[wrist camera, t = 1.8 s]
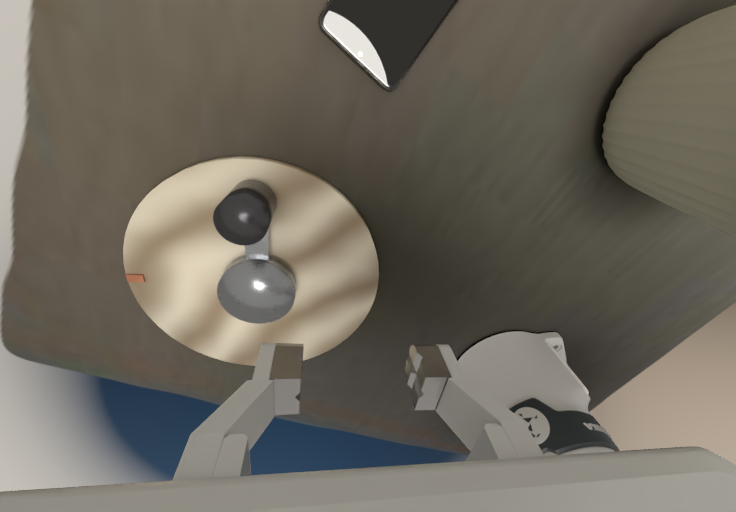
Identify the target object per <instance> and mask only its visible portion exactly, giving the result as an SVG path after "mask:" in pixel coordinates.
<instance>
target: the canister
mask: <svg viewBox="0 0 736 512" xmlns="http://www.w3.org/2000/svg"><path fill="white" fill-rule="evenodd" d="M603 127H604V131H603V134H602V138H603V144H602V147H603V149H604V156H605V158H606V160H607V163H608V165H609V167H610V168H611V169H612V170H613V172H614V173H615V174H616V175H617V176H618V177H619V178H620V179H622V180H623V181H624V182H625V183H627V184H628V185H630V186H631V187H633V188H635V189H637V190H639V191H641V192H643V193H645V194H647V195H649V196H651V197H653V198H654V199H656V200H658V201H660V202H662V203H664V204H666V205H668V206H670V207H672V208H674V209H677V210H679V211H681V212H683V213H685V214H687V215H689V216H691V217H693V218H695V219H697V220H700V221H702V222H704V223H706V224H708V225H710V226H712V227H715V228H717V229H719V230H721V231H723V232H725V233H727V234H729V235H731V236H733V237H735V238H736V5H733V6H730V7H727V8H724V9H721V10H718V11H715V12H713V13H710V14H707V15H705V16H703V17H700V18H698V19H696V20H694V21H692V22H691V23H689V24H686V25H684V26H682V27H680V28H679V29H677V30H676V31H674V32H673V33H671V34H670V35H669V36H667V37H665V38H664V39H662V40H661V41H659V42H658V43H657V44H656V45H655V46H654V48H652V49H651V50H649V51H648V52H646V53H645V54H644V56H643V57H642V59H641V60H640V61H639V62H637V63H636V64H635V65H634V66H633V68H632V70H631V71H630V73H629V74H628V75H626V76H625V77H624V80H623V82H622V84H621V85H620V87H619V88H618V89H617V90H616V94H615V96H614V98H613V99H612V101H611V102H610V107H609V109H608V111H607V113H606V120H605V123H604V124H603Z"/></svg>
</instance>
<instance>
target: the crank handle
mask: <svg viewBox="0 0 736 512" xmlns="http://www.w3.org/2000/svg"><path fill="white" fill-rule="evenodd" d="M276 208H277V198H276V195H275V193H274V192H273V190H272V189H271V188H270V187H269V186H268V185H267V184H265V183H263V182H261V181H259V180H254V179H249V180H244V181H241V182H240V183H238V184H237V185H236V186H235V187H234V188H233V189H232V190H231V191H230V192H229V193H228V195H227V196H226V197H225V198H224V199H223V200H222V201H221V202H220V203H219V204H218V205H217V207H216V208H215V210H214V214H213V222H214V225H215V228H216V230H217V231H218V233H219V234H220V235H221V236H222V237H223V238H224V239H226V240H227V241H229V242H231V243H234V244H237V245H245V255H244V256H241V257H239V258H237V259H235V260H234V261H232V262H231V263H230V264H229V265H228V267H227V268H226V270H225V271H224V273H223V275H222V277H221V279H220V281H219V283H218V286H217V296H218V299H219V302H220V304H221V305H222V307H223V308H224V309H225V310H226V311H227V312H228V313H229V314H230V315H232V316H233V317H235V318H237V319H239V320H242V321H245V322H248V323H256V324H263V323H270V322H273V321H276V320H278V319H280V318H282V317H284V316H285V315H286V314H287V313H288V312H289V311H290V310H291V308H292V306H293V304H294V300H295V293H296V279H295V276H294V274H293V272H292V270H291V269H290V268H289V267H288V266H287V265H286V264H285V263H284V262H282V261H281V260H279V259H277V258H275V257H273V256H270V223H271V221H272V218H273V216H274V213H275V211H276Z"/></svg>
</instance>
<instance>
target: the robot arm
mask: <svg viewBox="0 0 736 512" xmlns="http://www.w3.org/2000/svg"><path fill="white" fill-rule="evenodd" d="M303 350H304V344H292V343H262V344H261V346H260V350H259V354H258V358H257V362H256V366H255V370H254V374H253V378H252V380H247V381H246V382H245V383H244V384H243V385H242V386H241V387H240V388H239V389H238V390H237V391H236V392H235V393H234V394H233V395H232V396H230V397H229V398H228V399H227V400H226V401H225V402H224V403H223V404H222V405H221V406H220V407H219V408H218V409H217V410H216V411H215V412H214V413H213V414H212V415H211V416H210V417H208V418H207V420H206V421H204V422H203V423H202V424H201V425H200V426H199V427H198V428H197V429H196V430H195V431H194V432H193V433H192V434H191V435H190V437H189V440H188V442H187V445H186V447H185V450H184V453H183V455H182V457H181V460H180V463H179V465H178V468H177V470H176V473H175V475H174V478H173V480H172V481H159V482H144V483H129V484H113V485H97V486H83V487H68V488H51V489H36V490H21V491H6V492H0V512H736V465H734V464H733V463H731V462H729V461H727V460H726V459H724V458H722V457H721V456H719V455H717V454H715V453H713V452H711V451H709V450H707V449H704V448H701V447H675V448H660V449H645V450H631V451H619V449H618V447H617V446H616V445H615V443H614V442H613V441H612V438H611V437H610V435H609V434H608V433H607V432H606V430H605V429H604V428H603V427H601V426H600V424H599V423H598V422H597V421H596V420H595V418H594V417H593V416H591V415H590V414H589V412H588V404H589V402H590V401H591V399H590V397H589V395H588V394H589V392H588V390H587V388H586V387H585V386H584V384H583V383H582V382H581V381H580V380H579V378H578V377H577V376H576V375H575V373H574V372H573V371H572V370H571V369H570V367H569V366H568V365H567V360H566V354H565V349H564V343H563V339H562V338H561V336H560V335H559V334H558V333H557V332H547V333H541V334H534V333H529V332H522V331H513V332H505V333H501V334H497V335H494V336H491V337H489V338H486V339H484V340H482V341H480V342H479V343H477V344H475V345H474V346H473V347H471V348H470V349H469V350H467V351H466V352H465V353H464V354H463V355H462V356H461V357H460V359H459V360H458V361H457V360H456V358H455V356H454V354H453V352H452V350H451V347H450V346H449V345H412V346H411V347H410V350H409V353H410V357H409V358H408V359H407V361H406V365H405V376H406V381H407V384H408V385H409V386H410V387H411V388H412V390H411V393H410V396H411V399H412V402H413V406H414V409H415V410H436V412H437V413H438V414H439V416H440V417H441V418H442V419H443V420H444V421H445V422H446V424H447V425H448V426H449V427H450V428H451V429H452V431H453V432H454V433H455V434H456V435H457V436H458V437H459V439H460V440H461V441H462V442H463V443H464V444H465V445H466V447H467V448H468V449H469V450H470V451H471V452H470V454H469V456H468V458H467V460H466V461H463V462H449V463H432V464H418V465H402V466H387V467H372V468H357V469H342V470H327V471H313V472H297V473H281V474H266V475H252V476H251V468H250V456H249V450H250V449H251V448H252V447H253V445H254V444H255V442H256V441H257V440H258V438H259V437H260V436H261V434H262V433H263V431H264V430H265V429H266V427H267V426H268V425H269V423H270V422H271V420H272V419H273V418H274V415H286V414H299V407H300V395H301V382H302V368H303Z"/></svg>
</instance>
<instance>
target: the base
mask: <svg viewBox="0 0 736 512" xmlns="http://www.w3.org/2000/svg"><path fill="white" fill-rule="evenodd" d="M249 179H254V180H259V181H261V182H263V183H265V184H267V185H268V186H269V187H270V188H271V189H272V190H273V192H274V193H275V195H276V198H277V208H276V211H275V213H274V216H273V218H272V221H271V223H270V256H273V257H275V258H277V259H279V260H281V261H282V262H284V263H285V264H286V265H287V266H288V267H289V268H290V269H291V270H292V272H293V274H294V276H295V279H296V293H295V300H294V304H293V306H292V308H291V310H290V311H289V312H288V313H287V314H286V315H285V316H284V317H282V318H280V319H278V320H276V321H273V322H270V323H263V324H256V323H248V322H245V321H242V320H239V319H237V318H235V317H233V316H232V315H230V314H229V313H228V312H227V311H226V310H225V309H224V308H223V307H222V305H221V304H220V302H219V299H218V296H217V286H218V283H219V281H220V279H221V277H222V275H223V273H224V271H225V270H226V268H227V267H228V265H229V264H230V263H231V262H232V261H234V260H235V259H237V258H239V257H241V256H244V255H245V245H237V244H234V243H231V242H229V241H227V240H226V239H224V238H223V237H222V236H221V235H220V234H219V233H218V231H217V230H216V228H215V225H214V222H213V214H214V210H215V208H216V207H217V205H218V204H219V203H220V202H221V201H222V200H223V199H224V198H225V197H226V196H227V195H228V193H229V192H230V191H231V190H232V189H233V188H234V187H235V186H236V185H237V184H238V183H240V182H241V181H244V180H249ZM123 258H124V267H125V272H126V278H127V281H128V282H129V285H130V287H131V290H132V292H133V294H134V296H135V297H136V299H137V301H138V303H139V304H140V306H141V307H142V308H143V310H144V311H145V312H146V314H147V315H148V316H149V317H150V318H151V319H152V320H153V321H154V322H155V323H156V324H157V325H158V326H159V327H160V328H161V329H162V330H163V331H165V332H166V333H167V334H168V335H169V336H171V337H172V338H174V339H175V340H177V341H178V342H180V343H181V344H183V345H185V346H187V347H189V348H191V349H193V350H195V351H197V352H199V353H202V354H204V355H207V356H209V357H212V358H216V359H219V360H222V361H226V362H231V363H236V364H243V365H252V366H256V362H257V358H258V354H259V350H260V346H261V344H262V343H292V344H304V350H303V361H304V360H307V359H310V358H313V357H316V356H318V355H320V354H322V353H325V352H327V351H329V350H330V349H332V348H334V347H335V346H337V345H339V344H340V343H341V342H343V341H344V340H345V339H347V338H348V337H349V336H350V335H351V334H352V333H353V332H354V331H355V330H356V329H357V328H358V327H359V326H360V324H361V323H362V322H363V321H364V319H365V317H366V316H367V314H368V313H369V311H370V309H371V306H372V304H373V302H374V300H375V296H376V292H377V288H378V280H379V265H378V258H377V253H376V249H375V246H374V242H373V240H372V237H371V234H370V231H369V229H368V227H367V225H366V223H365V222H364V220H363V218H362V216H361V215H360V214H359V212H358V211H357V210H356V208H355V207H354V205H353V204H352V203H351V202H350V201H349V200H348V199H347V198H346V197H345V196H344V195H343V194H342V193H341V192H340V191H338V190H337V189H336V188H335V187H333V186H332V185H331V184H330V183H328V182H327V181H325V180H323V179H322V178H320V177H319V176H317V175H315V174H314V173H311V172H309V171H307V170H305V169H302V168H300V167H298V166H295V165H292V164H289V163H286V162H282V161H279V160H274V159H268V158H263V157H250V156H235V157H223V158H217V159H213V160H208V161H204V162H201V163H198V164H196V165H193V166H190V167H188V168H186V169H184V170H182V171H180V172H179V173H177V174H175V175H173V176H172V177H170V178H168V179H166V180H165V181H163V182H162V183H160V184H159V185H158V186H157V187H155V188H154V189H153V190H152V191H151V192H149V193H148V195H147V196H146V197H145V198H144V199H143V200H142V202H141V203H140V204H139V205H138V207H137V209H136V210H135V212H134V214H133V215H132V217H131V219H130V222H129V225H128V227H127V230H126V233H125V239H124V246H123Z"/></svg>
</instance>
